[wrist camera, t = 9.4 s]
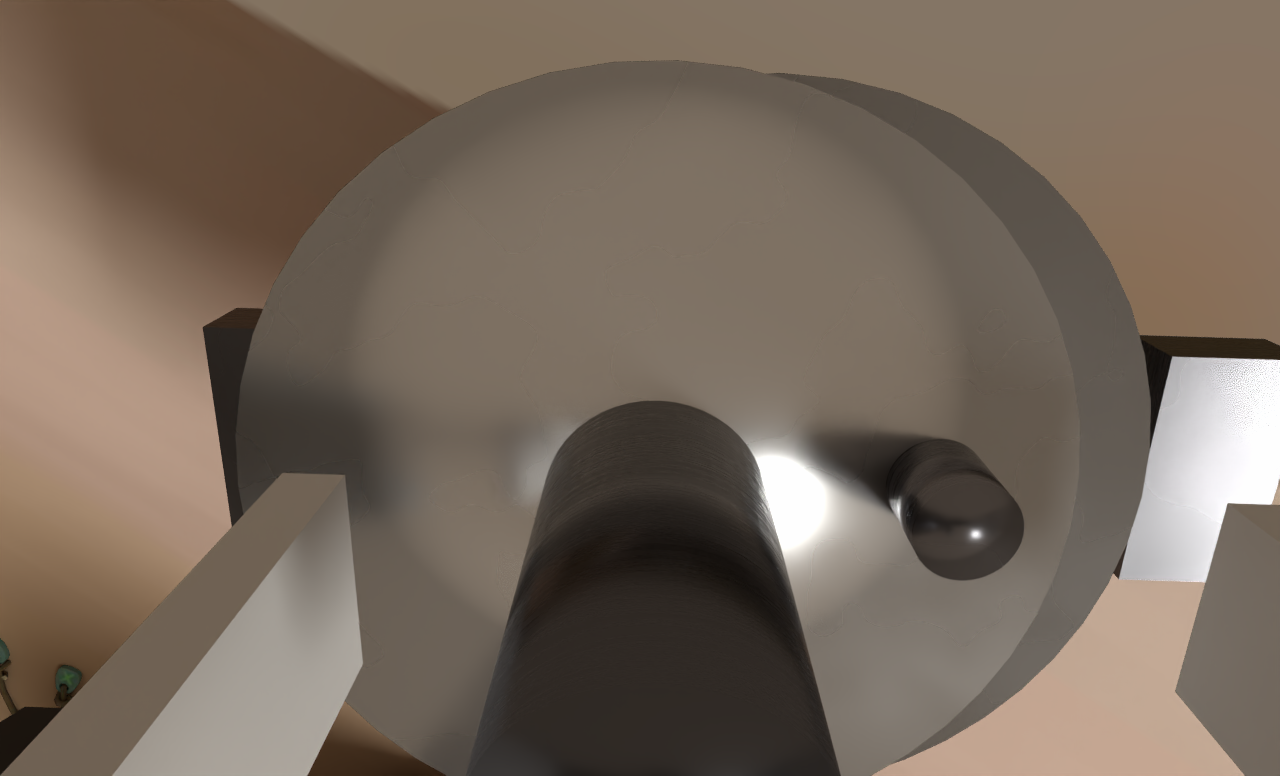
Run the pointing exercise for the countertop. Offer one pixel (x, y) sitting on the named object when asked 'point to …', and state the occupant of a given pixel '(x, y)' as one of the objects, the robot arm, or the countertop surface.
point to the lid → (670, 428)
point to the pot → (1105, 391)
